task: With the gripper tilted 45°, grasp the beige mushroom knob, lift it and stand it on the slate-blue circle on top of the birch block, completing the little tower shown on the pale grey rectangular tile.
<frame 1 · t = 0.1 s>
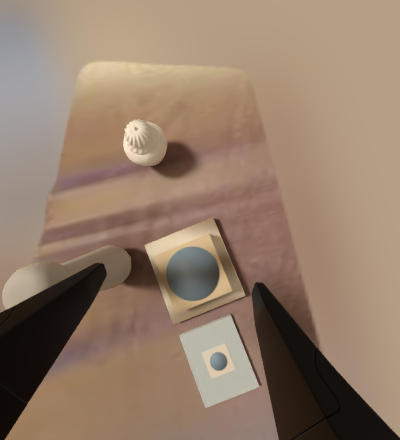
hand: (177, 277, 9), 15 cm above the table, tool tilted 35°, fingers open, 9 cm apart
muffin: (154, 156, 26), on the table
foundation: (194, 268, 24), on the table
beige mushroom knob: (120, 262, 25), on the table
pale grey rectangular tile: (218, 358, 23), on the table
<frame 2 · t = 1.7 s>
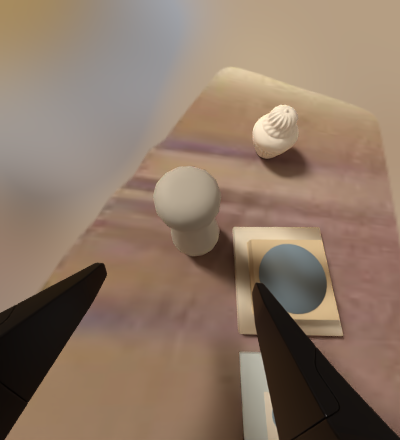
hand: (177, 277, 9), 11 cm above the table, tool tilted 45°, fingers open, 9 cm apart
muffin: (265, 151, 26), on the table
foundation: (279, 275, 20), on the table
beige mushroom knob: (196, 236, 22), on the table
pale grey rectangular tile: (282, 412, 16), on the table
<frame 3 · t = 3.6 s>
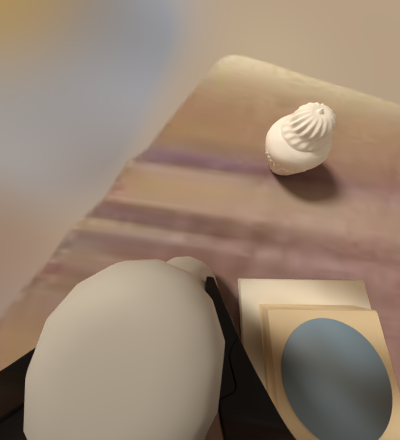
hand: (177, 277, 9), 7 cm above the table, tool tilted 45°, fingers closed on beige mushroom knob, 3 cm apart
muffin: (280, 165, 19), on the table
foundation: (306, 354, 14), on the table
beige mushroom knob: (186, 288, 15), on the table, touching gripper
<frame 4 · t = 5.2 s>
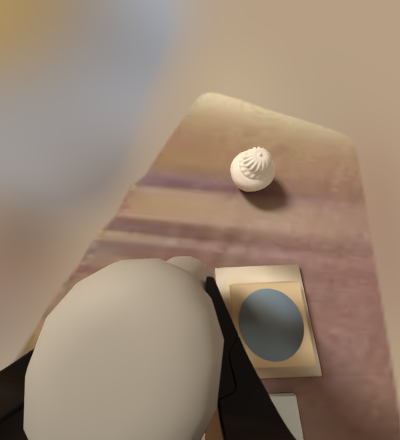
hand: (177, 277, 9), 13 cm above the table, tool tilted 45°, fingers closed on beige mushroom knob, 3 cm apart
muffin: (245, 183, 26), on the table
foundation: (261, 314, 20), on the table
beige mushroom knob: (185, 288, 15), point 6 cm above the table, touching gripper
when the fingers open (11 cm above the table, at t = 6.5 s): beige mushroom knob drops 1 cm, resting on foundation.
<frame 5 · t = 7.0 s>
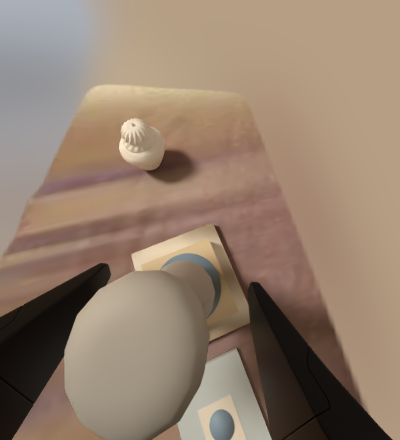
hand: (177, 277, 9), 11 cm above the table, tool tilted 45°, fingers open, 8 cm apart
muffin: (151, 162, 25), on the table
foundation: (189, 284, 20), on the table
beige mushroom knob: (185, 289, 17), point 3 cm above the table, touching foundation
pale grey rectangular tile: (221, 421, 16), on the table
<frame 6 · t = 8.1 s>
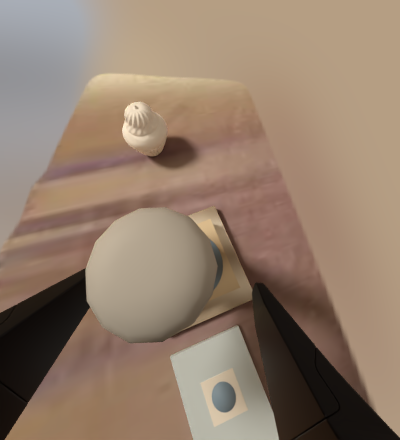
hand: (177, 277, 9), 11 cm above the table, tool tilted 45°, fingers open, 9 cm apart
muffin: (153, 149, 25), on the table
foundation: (192, 265, 20), on the table
beige mushroom knob: (188, 267, 17), point 3 cm above the table, touching foundation
pale grey rectangular tile: (223, 392, 16), on the table
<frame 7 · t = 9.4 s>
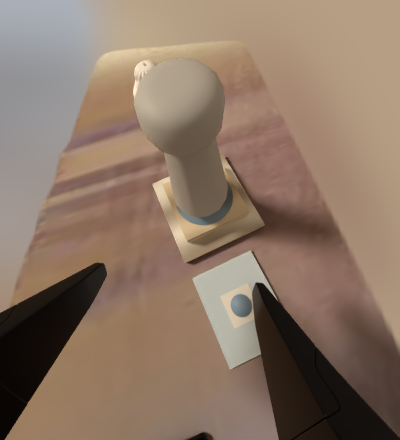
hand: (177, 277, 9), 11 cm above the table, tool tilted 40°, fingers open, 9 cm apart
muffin: (161, 112, 28), on the table
foundation: (205, 205, 22), on the table
beige mushroom knob: (201, 199, 19), point 3 cm above the table, touching foundation
pale grey rectangular tile: (240, 304, 19), on the table
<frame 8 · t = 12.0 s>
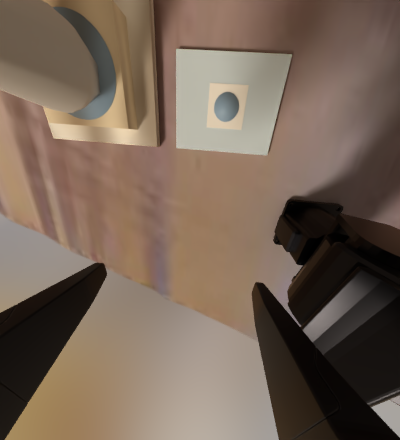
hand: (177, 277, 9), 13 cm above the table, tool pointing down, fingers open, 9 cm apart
foundation: (98, 81, 16), on the table
beige mushroom knob: (79, 75, 14), point 3 cm above the table, touching foundation
pale grey rectangular tile: (226, 108, 16), on the table
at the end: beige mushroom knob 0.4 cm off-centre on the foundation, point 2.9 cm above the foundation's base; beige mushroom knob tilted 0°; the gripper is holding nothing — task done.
